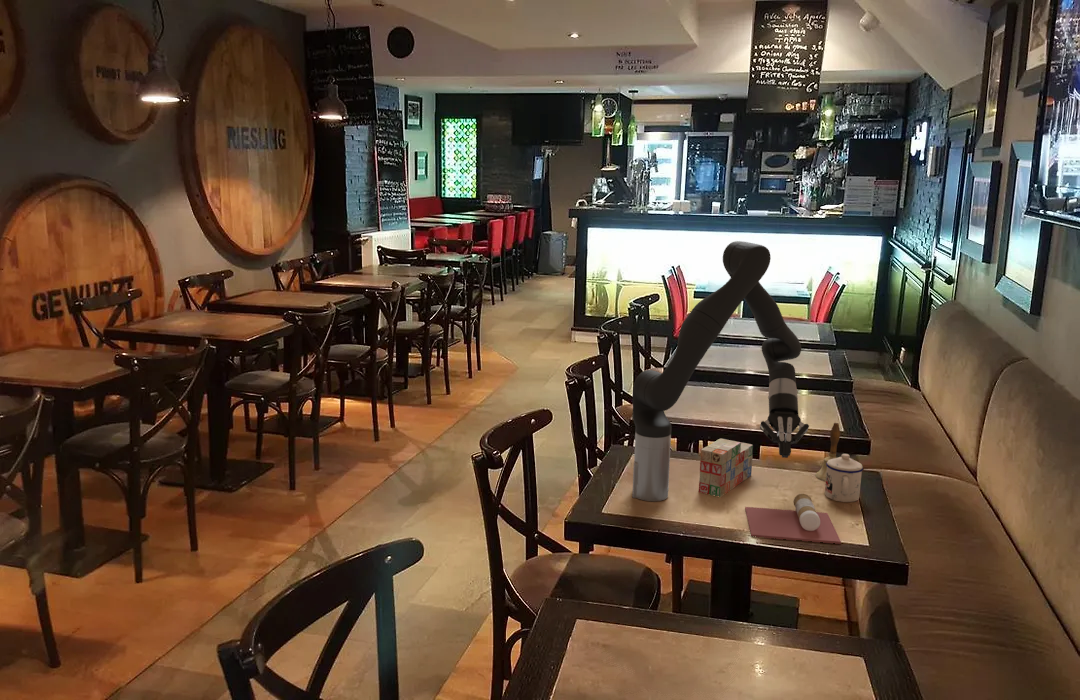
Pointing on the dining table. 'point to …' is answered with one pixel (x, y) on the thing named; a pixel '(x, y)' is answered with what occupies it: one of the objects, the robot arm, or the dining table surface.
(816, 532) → the mat
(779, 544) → the dining table surface
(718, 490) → the stack of blocks
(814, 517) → the sprinkles bottle
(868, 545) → the dining table surface
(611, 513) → the dining table surface
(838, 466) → the teacup with lid
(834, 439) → the hand bell
